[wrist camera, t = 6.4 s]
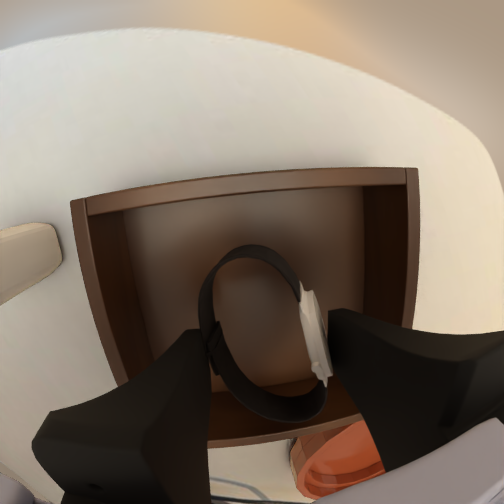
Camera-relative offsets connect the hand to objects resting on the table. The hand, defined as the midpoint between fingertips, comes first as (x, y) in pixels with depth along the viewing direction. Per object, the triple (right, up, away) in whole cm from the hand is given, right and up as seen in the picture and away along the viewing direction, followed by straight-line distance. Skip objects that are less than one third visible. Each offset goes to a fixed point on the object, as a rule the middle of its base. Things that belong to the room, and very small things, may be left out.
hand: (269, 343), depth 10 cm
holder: (-1, +1, +4) cm, 5 cm away
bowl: (+9, -12, +8) cm, 17 cm away
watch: (0, 0, +1) cm, 1 cm away
